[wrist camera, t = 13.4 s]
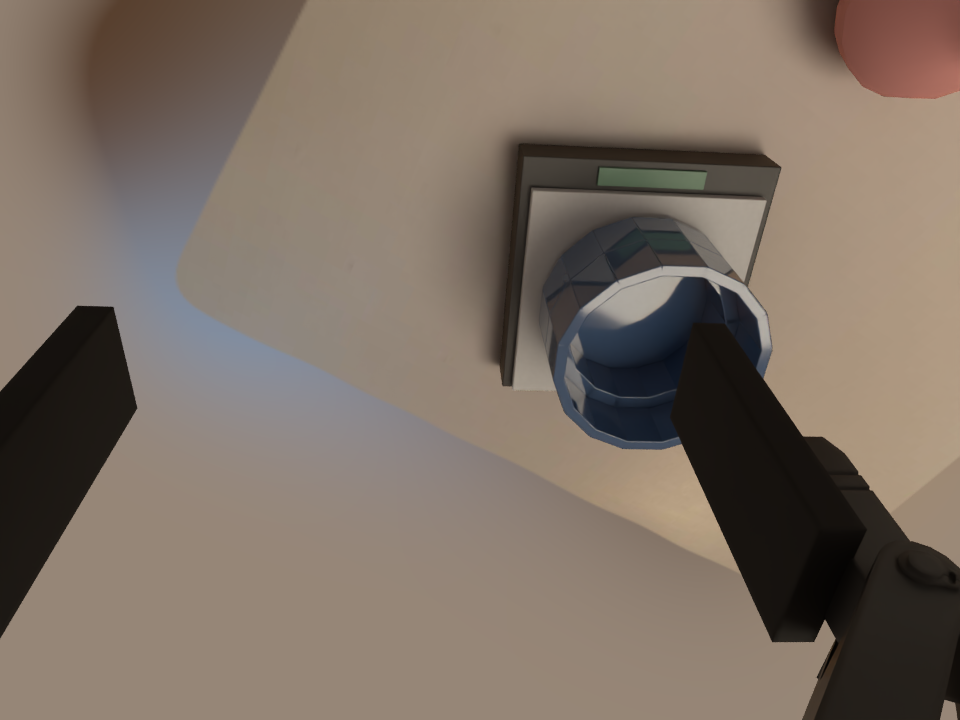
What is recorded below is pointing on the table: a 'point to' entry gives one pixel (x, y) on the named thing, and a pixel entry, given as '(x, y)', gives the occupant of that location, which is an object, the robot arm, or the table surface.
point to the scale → (611, 198)
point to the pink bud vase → (901, 45)
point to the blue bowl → (639, 325)
